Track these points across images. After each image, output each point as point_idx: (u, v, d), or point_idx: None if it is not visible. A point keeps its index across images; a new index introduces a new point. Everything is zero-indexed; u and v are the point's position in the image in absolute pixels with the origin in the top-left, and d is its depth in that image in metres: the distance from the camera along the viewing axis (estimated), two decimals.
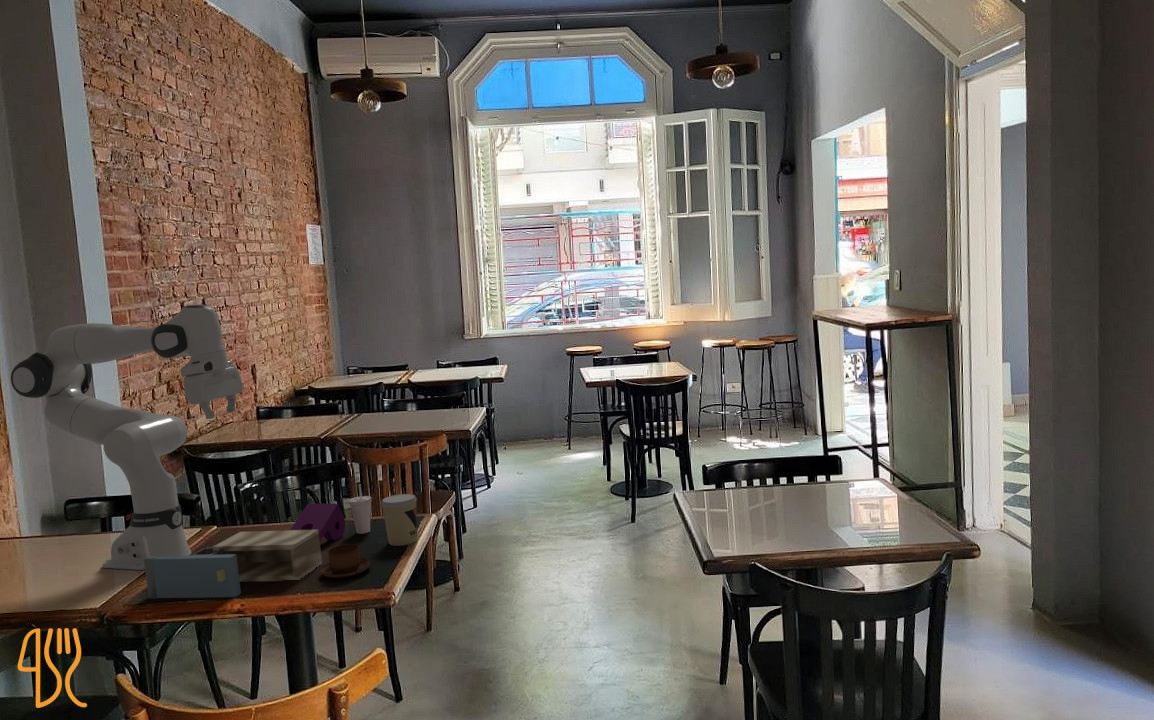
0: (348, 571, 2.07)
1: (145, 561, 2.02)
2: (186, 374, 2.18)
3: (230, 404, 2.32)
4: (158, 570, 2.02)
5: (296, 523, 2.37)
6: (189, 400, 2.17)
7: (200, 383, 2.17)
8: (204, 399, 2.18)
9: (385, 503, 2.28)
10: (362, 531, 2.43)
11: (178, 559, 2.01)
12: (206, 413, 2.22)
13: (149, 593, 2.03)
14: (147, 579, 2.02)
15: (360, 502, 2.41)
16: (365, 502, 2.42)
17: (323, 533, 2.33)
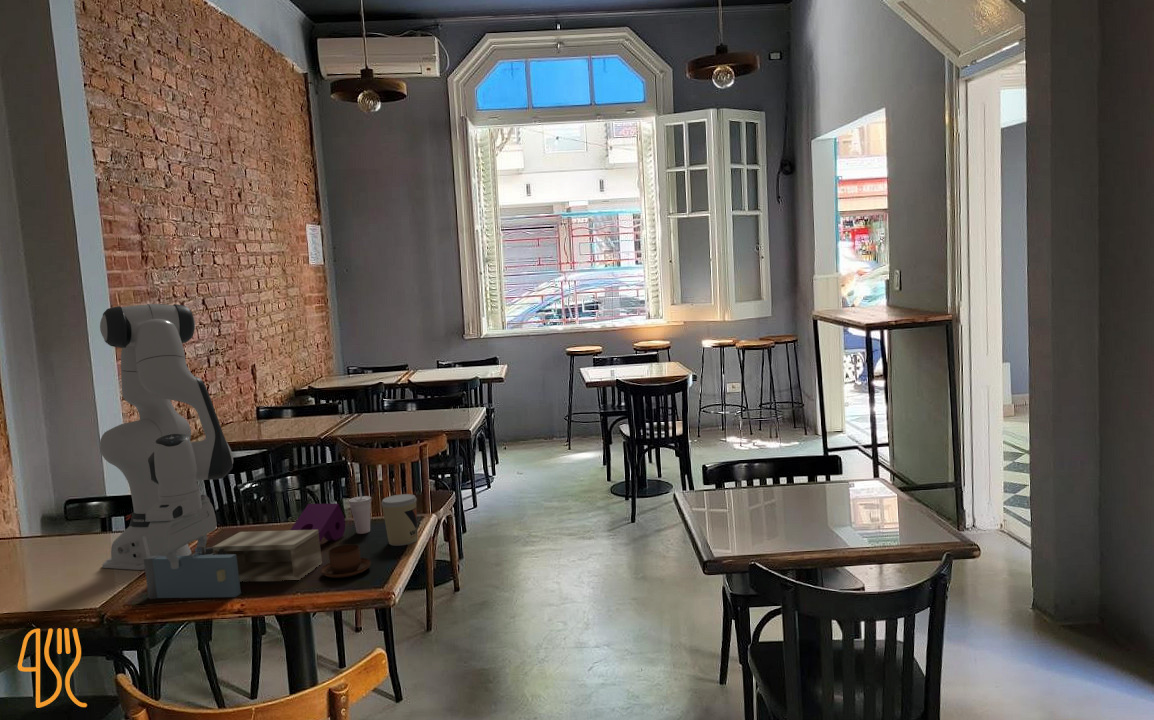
0: (348, 571, 2.07)
1: (145, 561, 2.02)
2: (152, 520, 1.92)
3: (200, 545, 2.06)
4: (158, 570, 2.02)
5: (296, 523, 2.36)
6: (153, 551, 1.91)
7: (167, 533, 1.91)
8: (170, 550, 1.93)
9: (385, 503, 2.28)
10: (362, 531, 2.43)
11: None
12: (171, 562, 1.96)
13: (149, 593, 2.03)
14: (147, 579, 2.02)
15: (360, 502, 2.41)
16: (365, 502, 2.42)
17: (323, 533, 2.33)
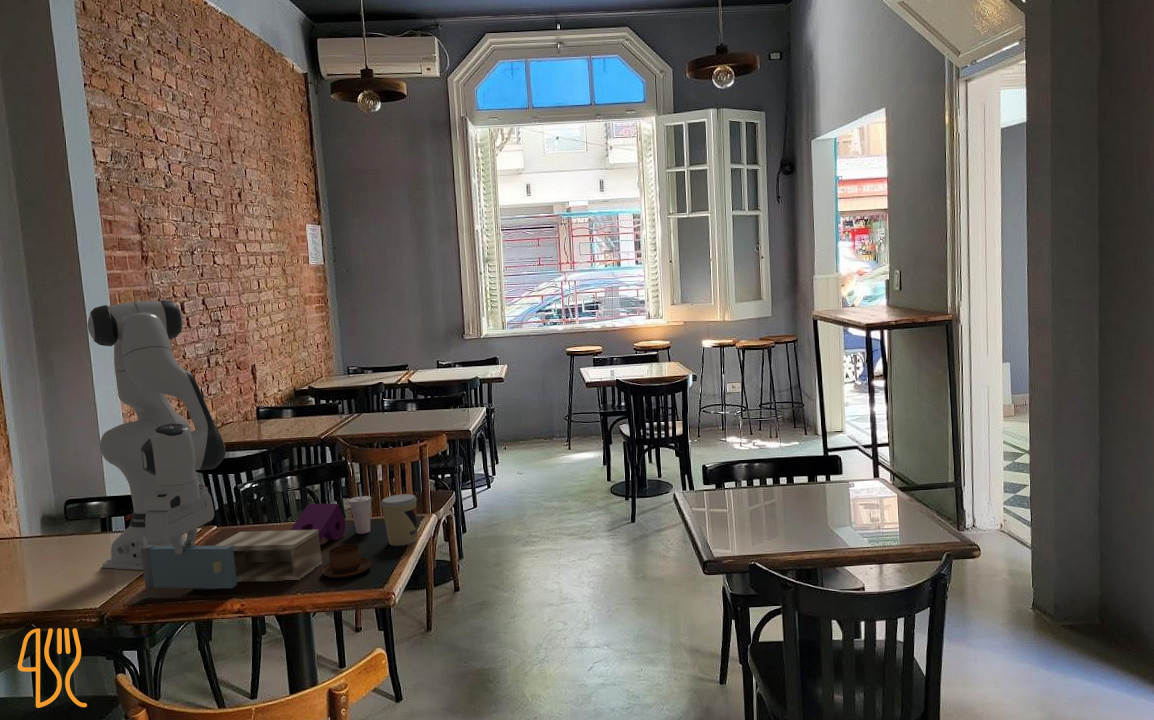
0: (349, 571, 2.07)
1: (142, 550, 2.02)
2: (149, 509, 1.92)
3: (189, 539, 2.03)
4: (155, 560, 2.02)
5: (296, 523, 2.36)
6: (149, 540, 1.91)
7: (164, 523, 1.91)
8: (166, 540, 1.93)
9: (385, 503, 2.28)
10: (362, 531, 2.43)
11: None
12: (176, 548, 1.99)
13: (146, 582, 2.03)
14: (144, 568, 2.03)
15: (360, 502, 2.41)
16: (365, 502, 2.42)
17: (323, 533, 2.33)
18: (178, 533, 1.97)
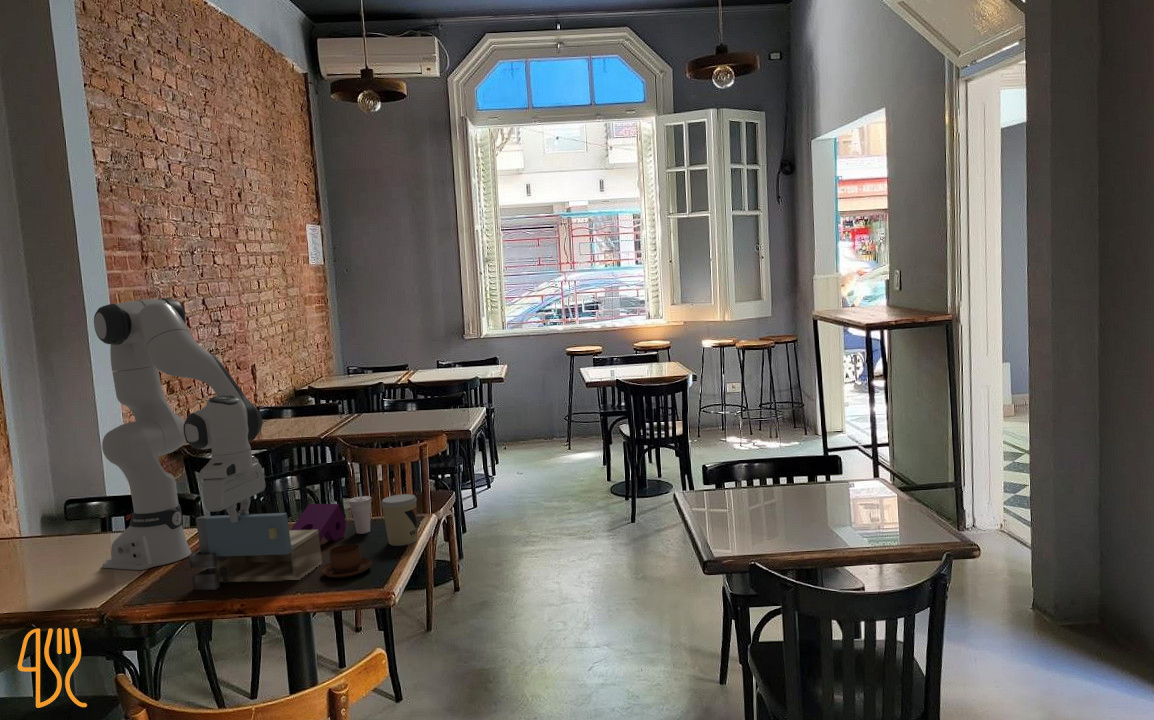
0: (349, 571, 2.07)
1: (197, 520, 2.06)
2: (206, 477, 1.96)
3: (243, 508, 2.08)
4: (211, 529, 2.06)
5: (296, 523, 2.36)
6: (207, 507, 1.96)
7: (221, 490, 1.95)
8: (224, 507, 1.97)
9: (385, 503, 2.28)
10: (362, 531, 2.43)
11: None
12: (231, 516, 2.03)
13: (201, 552, 2.07)
14: (199, 538, 2.07)
15: (360, 502, 2.41)
16: (365, 502, 2.42)
17: (323, 534, 2.32)
18: (234, 501, 2.01)
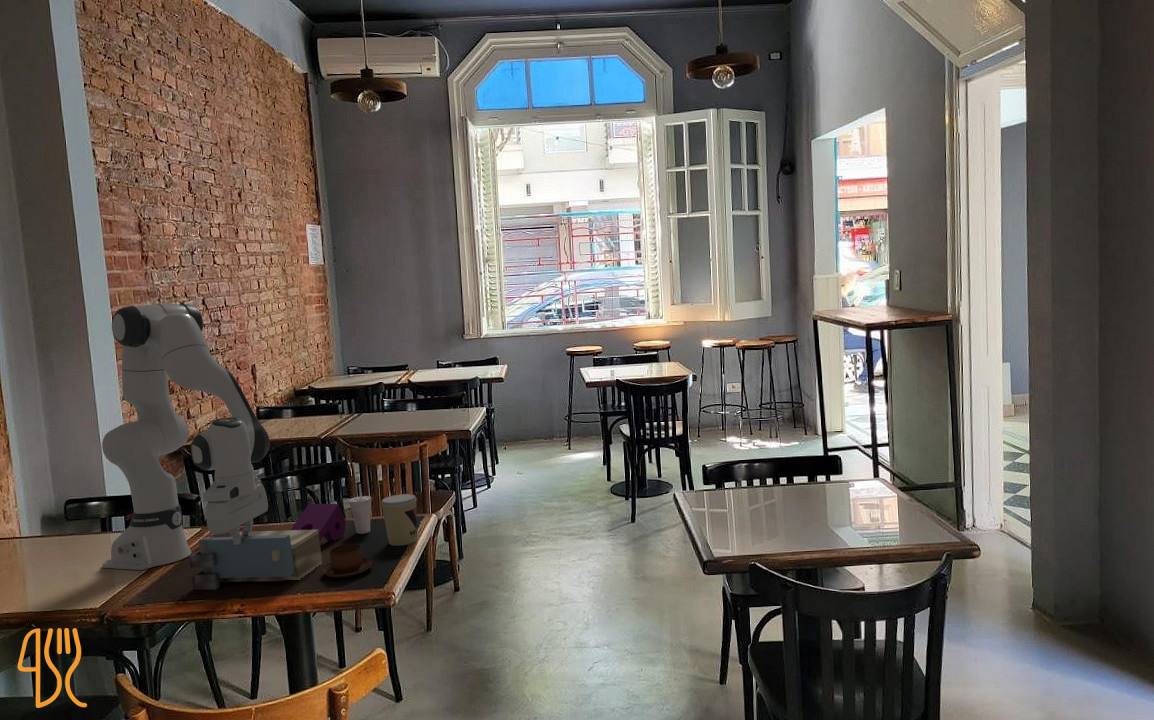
0: (350, 571, 2.07)
1: (200, 542, 2.07)
2: (209, 500, 1.97)
3: (246, 529, 2.08)
4: (214, 551, 2.07)
5: (296, 523, 2.36)
6: (210, 530, 1.96)
7: (224, 513, 1.96)
8: (227, 529, 1.97)
9: (385, 503, 2.28)
10: (362, 531, 2.43)
11: None
12: (234, 538, 2.04)
13: (204, 573, 2.07)
14: None
15: (360, 502, 2.41)
16: (365, 502, 2.42)
17: (323, 534, 2.32)
18: (237, 523, 2.01)
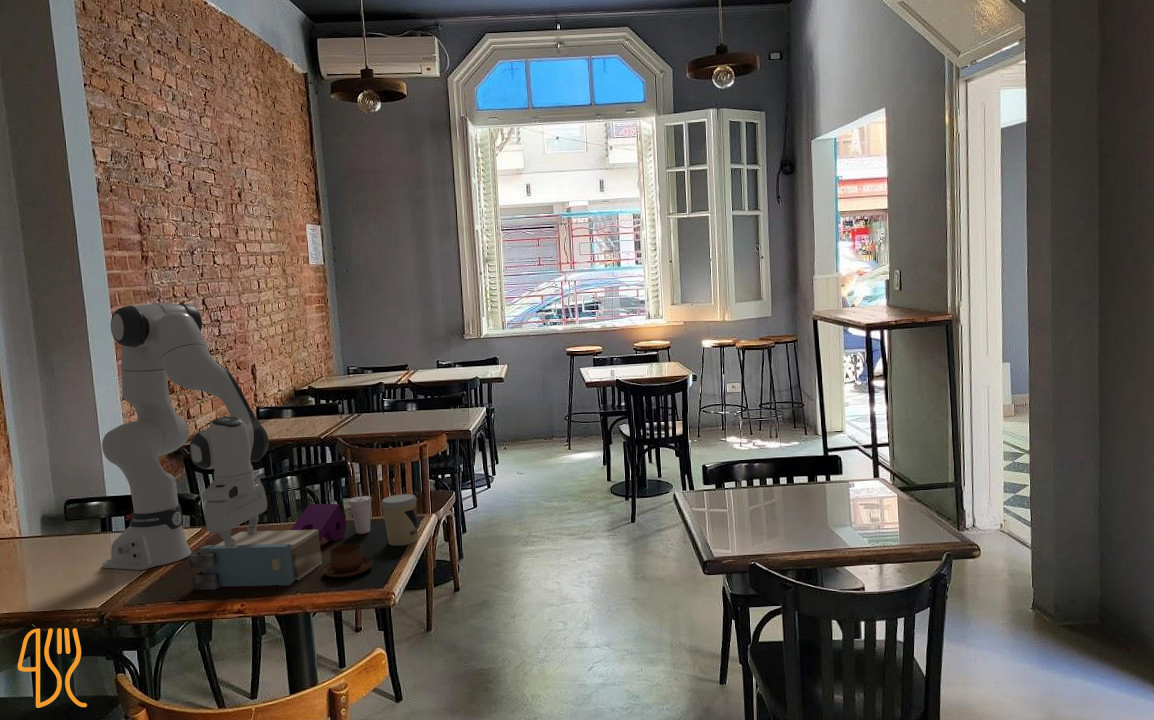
0: (350, 571, 2.07)
1: (201, 550, 2.07)
2: (208, 500, 1.97)
3: (251, 525, 2.11)
4: None
5: (296, 523, 2.36)
6: (209, 529, 1.96)
7: (223, 512, 1.96)
8: (225, 529, 1.97)
9: (385, 503, 2.28)
10: (362, 531, 2.43)
11: (234, 548, 2.06)
12: (225, 541, 2.01)
13: None
14: (203, 568, 2.07)
15: (360, 502, 2.41)
16: (365, 502, 2.42)
17: (323, 534, 2.32)
18: (235, 523, 2.01)
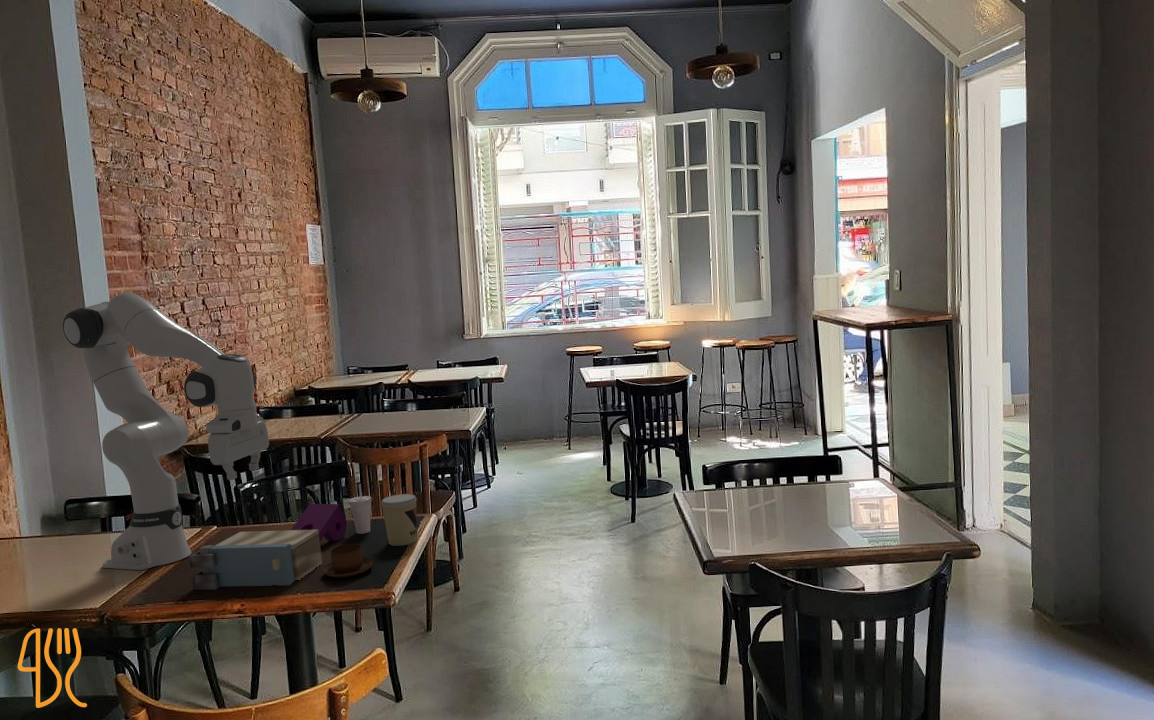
0: (350, 570, 2.07)
1: (201, 550, 2.07)
2: (212, 432, 2.03)
3: (253, 461, 2.17)
4: None
5: (297, 523, 2.36)
6: (212, 460, 2.02)
7: (226, 444, 2.02)
8: (228, 461, 2.04)
9: (385, 503, 2.28)
10: (362, 531, 2.43)
11: (234, 548, 2.06)
12: (228, 473, 2.07)
13: None
14: (203, 568, 2.07)
15: (360, 502, 2.41)
16: (365, 502, 2.42)
17: (323, 534, 2.32)
18: (238, 456, 2.08)
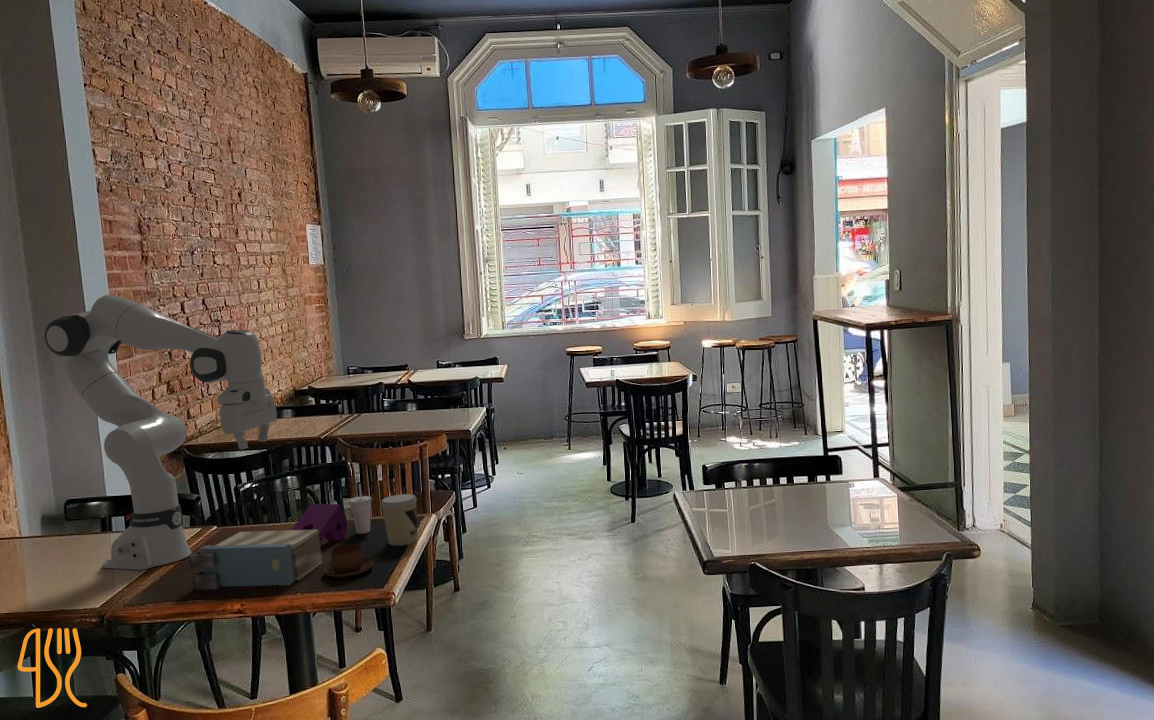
0: (351, 571, 2.07)
1: (201, 550, 2.07)
2: (223, 403, 2.12)
3: (263, 433, 2.26)
4: None
5: (297, 523, 2.36)
6: (224, 430, 2.12)
7: (237, 414, 2.12)
8: (239, 430, 2.13)
9: (385, 503, 2.28)
10: (362, 531, 2.43)
11: (234, 548, 2.06)
12: (239, 443, 2.16)
13: None
14: (203, 568, 2.07)
15: (360, 502, 2.41)
16: (365, 502, 2.42)
17: (323, 534, 2.32)
18: (248, 426, 2.17)
